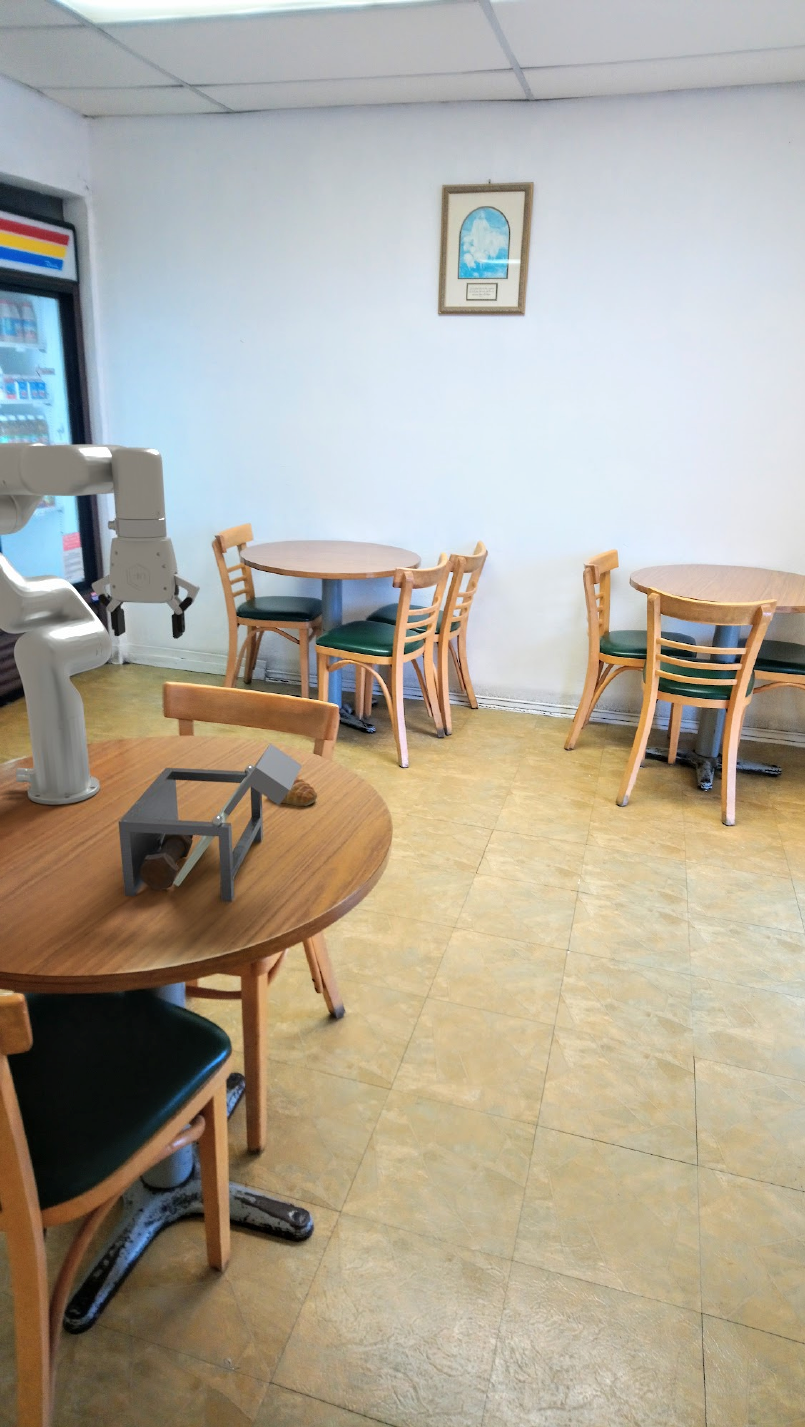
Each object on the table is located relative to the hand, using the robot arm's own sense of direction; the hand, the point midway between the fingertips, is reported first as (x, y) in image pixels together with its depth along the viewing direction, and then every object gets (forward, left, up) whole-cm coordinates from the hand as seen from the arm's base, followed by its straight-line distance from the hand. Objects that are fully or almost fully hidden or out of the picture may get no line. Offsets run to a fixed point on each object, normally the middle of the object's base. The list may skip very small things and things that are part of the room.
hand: (149, 635), depth 142 cm
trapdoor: (+21, -15, -26) cm, 37 cm away
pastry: (+21, +13, -34) cm, 42 cm away
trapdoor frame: (+11, -15, -33) cm, 38 cm away
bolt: (+9, -16, -29) cm, 34 cm away
